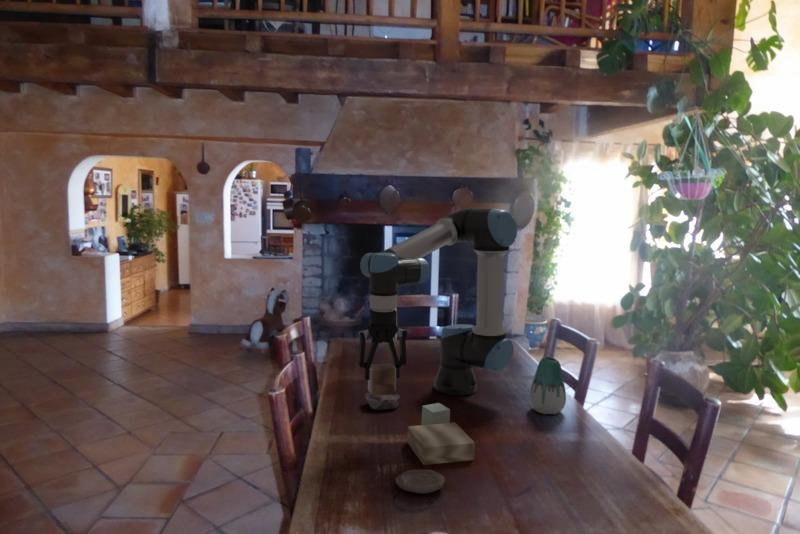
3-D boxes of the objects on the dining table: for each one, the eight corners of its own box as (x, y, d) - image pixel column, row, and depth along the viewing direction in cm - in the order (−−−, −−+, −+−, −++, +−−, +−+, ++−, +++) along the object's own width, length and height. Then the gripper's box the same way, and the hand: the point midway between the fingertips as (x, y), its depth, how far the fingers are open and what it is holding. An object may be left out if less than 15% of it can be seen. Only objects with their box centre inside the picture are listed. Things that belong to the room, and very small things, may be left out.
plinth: (454, 439, 165) (454, 422, 164) (474, 461, 152) (474, 442, 151) (407, 443, 161) (407, 426, 160) (423, 466, 148) (424, 447, 147)
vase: (567, 409, 192) (571, 356, 189) (561, 420, 181) (565, 364, 179) (532, 402, 196) (535, 351, 194) (524, 413, 186) (528, 359, 184)
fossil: (398, 478, 142) (398, 467, 142) (445, 481, 141) (445, 469, 140) (392, 497, 132) (392, 484, 131) (443, 499, 130) (443, 487, 130)
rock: (403, 410, 186) (403, 396, 185) (368, 412, 183) (368, 398, 182) (397, 401, 193) (397, 388, 193) (363, 403, 191) (363, 390, 190)
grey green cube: (438, 421, 177) (438, 402, 176) (449, 428, 172) (450, 409, 171) (421, 425, 174) (422, 405, 173) (432, 432, 169) (433, 412, 168)
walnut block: (389, 387, 167) (390, 363, 166) (394, 394, 161) (395, 369, 160) (369, 388, 165) (369, 364, 164) (373, 395, 159) (373, 370, 159)
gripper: (412, 305, 166) (410, 383, 169) (346, 307, 161) (346, 387, 164) (420, 310, 159) (417, 392, 162) (351, 313, 154) (350, 396, 157)
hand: (381, 389), depth 163 cm, fingers closed on walnut block, 6 cm apart
